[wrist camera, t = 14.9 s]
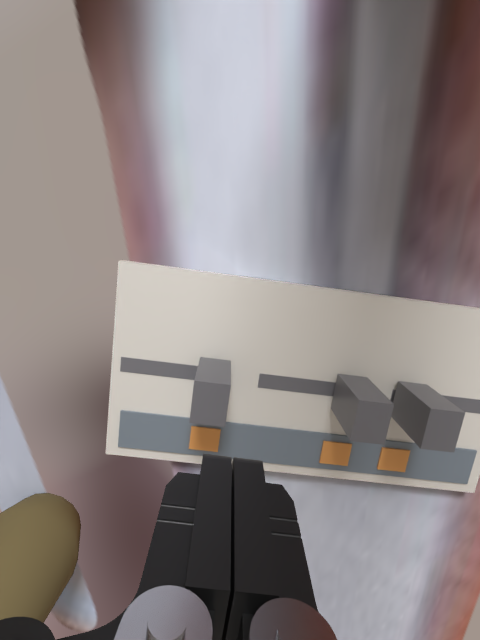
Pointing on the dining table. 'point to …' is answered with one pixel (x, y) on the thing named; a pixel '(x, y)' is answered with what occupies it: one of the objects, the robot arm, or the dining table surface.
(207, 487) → the robot arm
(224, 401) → the slider
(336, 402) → the slider middle
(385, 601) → the dining table surface
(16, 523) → the squeeze bottle
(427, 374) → the switch panel
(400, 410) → the slider
